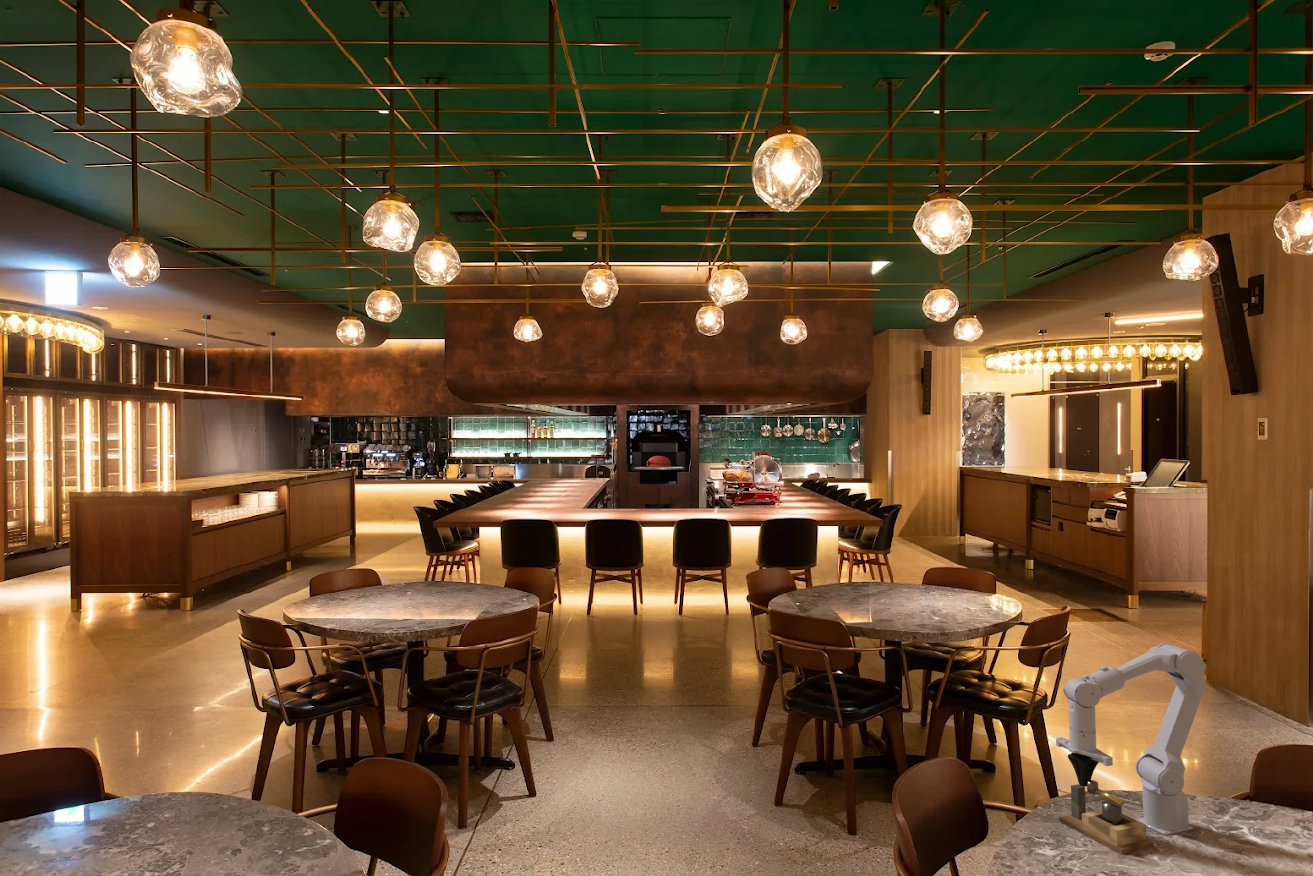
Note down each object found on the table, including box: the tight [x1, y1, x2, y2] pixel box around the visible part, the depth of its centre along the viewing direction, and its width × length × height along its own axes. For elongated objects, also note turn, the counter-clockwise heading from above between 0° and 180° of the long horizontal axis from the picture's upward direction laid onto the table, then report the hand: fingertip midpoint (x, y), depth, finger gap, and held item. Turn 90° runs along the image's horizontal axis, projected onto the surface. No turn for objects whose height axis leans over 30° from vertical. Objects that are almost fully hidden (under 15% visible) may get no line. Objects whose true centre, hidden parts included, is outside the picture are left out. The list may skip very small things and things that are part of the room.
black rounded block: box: [1101, 799, 1123, 826], centre depth 175 cm, size 4×4×7 cm
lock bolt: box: [1086, 779, 1125, 806], centre depth 177 cm, size 2×9×2 cm, turn 19°
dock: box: [1058, 783, 1154, 855], centre depth 177 cm, size 10×17×8 cm, turn 19°
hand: (1084, 785), depth 183 cm, fingers closed
